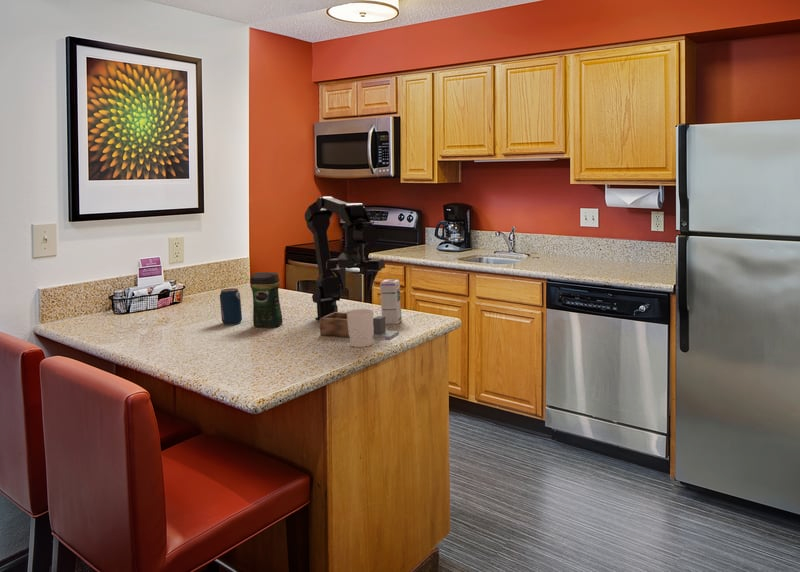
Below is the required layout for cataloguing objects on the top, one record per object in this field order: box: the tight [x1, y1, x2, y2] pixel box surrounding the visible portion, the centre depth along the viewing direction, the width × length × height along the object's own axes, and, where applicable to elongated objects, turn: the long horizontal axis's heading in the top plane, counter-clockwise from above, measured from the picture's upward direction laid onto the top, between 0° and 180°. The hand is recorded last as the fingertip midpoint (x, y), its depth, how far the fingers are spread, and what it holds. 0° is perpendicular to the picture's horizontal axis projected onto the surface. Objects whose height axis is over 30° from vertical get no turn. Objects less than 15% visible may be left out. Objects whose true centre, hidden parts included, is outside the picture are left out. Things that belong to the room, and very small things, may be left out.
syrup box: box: [379, 278, 402, 325], centre depth 209 cm, size 6×6×14 cm
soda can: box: [219, 287, 243, 326], centre depth 216 cm, size 7×7×12 cm
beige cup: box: [346, 308, 374, 348], centre depth 182 cm, size 8×8×10 cm
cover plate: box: [373, 315, 400, 340], centre depth 192 cm, size 10×7×6 cm
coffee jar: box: [249, 271, 283, 328], centre depth 210 cm, size 10×8×19 cm
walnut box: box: [319, 311, 349, 338], centre depth 197 cm, size 12×10×6 cm
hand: (356, 290), depth 200 cm, fingers open, 9 cm apart
